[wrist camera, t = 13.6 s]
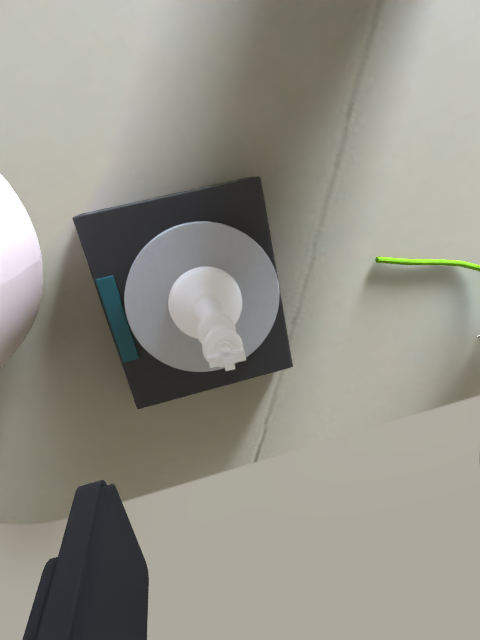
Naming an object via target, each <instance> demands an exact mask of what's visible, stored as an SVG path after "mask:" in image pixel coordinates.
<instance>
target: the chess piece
mask: <svg viewBox="0 0 480 640" xmlns="http://www.w3.org/2000/svg"><path fill="white" fill-rule="evenodd" d="M168 308H169V312H170V315H171V318H172V320H173V321H174V323H175V324H176V326H177V327H178V328H179V329H180V330H181V331H182V332H183V333H185V334H187V335H188V336H191V337H193V338H197V339H199V341H200V343H201V344H202V345H203V346H202V351H203V355H204V357H205V359H206V360H207V361H208V362H209V365H210V368H213V367H224V368H225V370H226V371H229V370H233V369H235V364H234V363H236V362H241V361H245V360H246V356H245V351H244V349H243V342H242V339H241V337H240V336H239V335H238V334H237V333H236V327H235V324H236V323H237V321H238V319H239V317H240V314H241V311H242V296H241V291H240V289H239V286H238V284H237V283H236V281H235V280H234V279H233V278H232V277H231V276H230V275H229V274H228V273H226V272H225V271H223V270H221V269H218V268H215V267H208V266H204V267H197V268H194V269H191V270H189V271H187V272H185V273H184V274H182V275H181V276H180V277H179V278H178V279H177V280H176V281H175V283H174V284H173V286H172V288H171V290H170V293H169V298H168Z"/></svg>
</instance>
